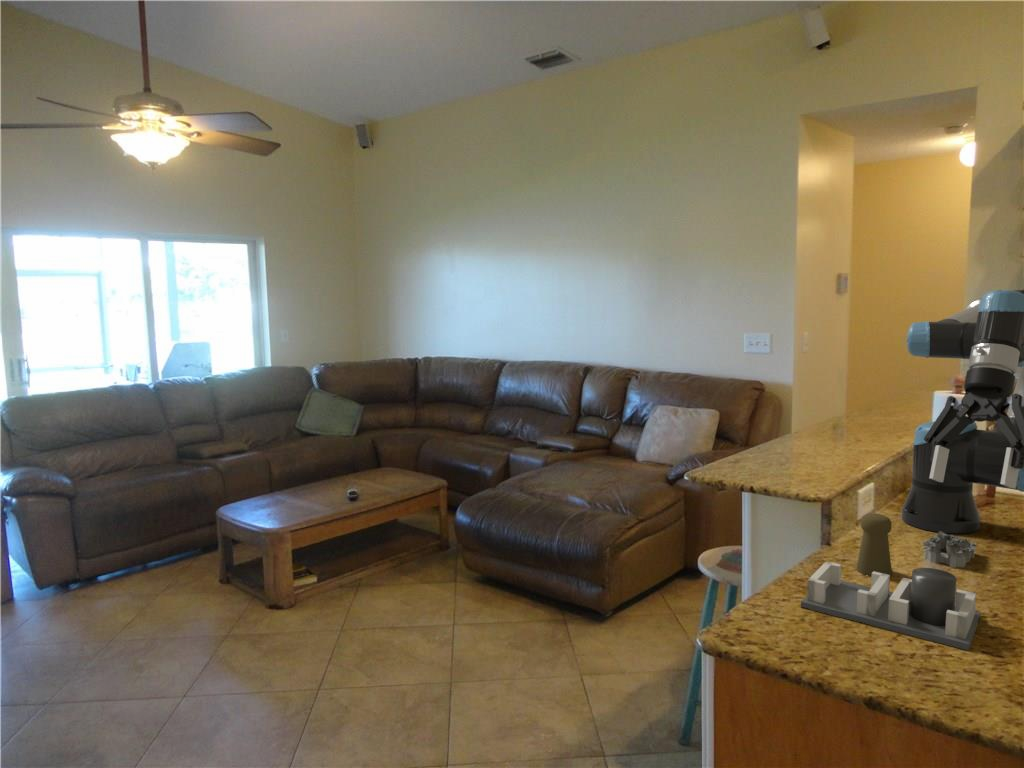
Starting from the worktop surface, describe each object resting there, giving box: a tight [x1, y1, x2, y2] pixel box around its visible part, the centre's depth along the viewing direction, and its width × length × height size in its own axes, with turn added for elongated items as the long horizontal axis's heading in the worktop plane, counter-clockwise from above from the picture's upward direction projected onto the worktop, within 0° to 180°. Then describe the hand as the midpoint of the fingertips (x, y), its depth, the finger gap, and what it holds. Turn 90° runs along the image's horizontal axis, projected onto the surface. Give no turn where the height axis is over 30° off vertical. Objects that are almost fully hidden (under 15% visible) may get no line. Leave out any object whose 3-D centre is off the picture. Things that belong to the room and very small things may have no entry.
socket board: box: [800, 560, 981, 652], centre depth 115 cm, size 13×24×8 cm, turn 50°
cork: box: [855, 513, 893, 577], centre depth 132 cm, size 6×6×11 cm
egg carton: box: [923, 531, 978, 569], centre depth 138 cm, size 11×8×4 cm
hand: (970, 483), depth 126 cm, fingers open, 13 cm apart
